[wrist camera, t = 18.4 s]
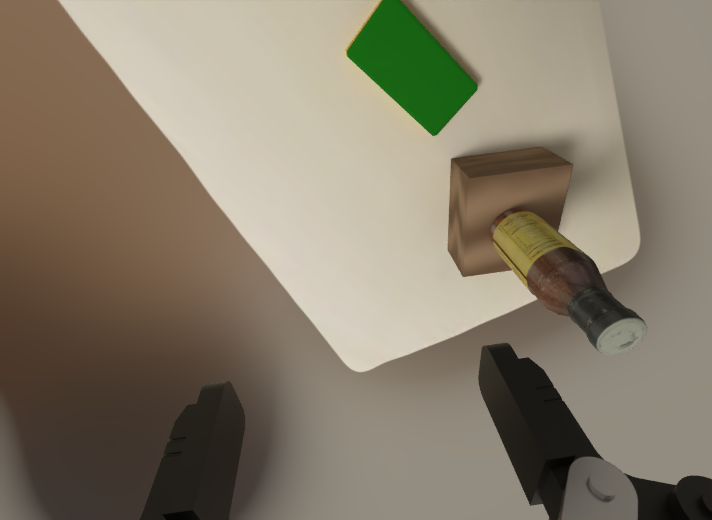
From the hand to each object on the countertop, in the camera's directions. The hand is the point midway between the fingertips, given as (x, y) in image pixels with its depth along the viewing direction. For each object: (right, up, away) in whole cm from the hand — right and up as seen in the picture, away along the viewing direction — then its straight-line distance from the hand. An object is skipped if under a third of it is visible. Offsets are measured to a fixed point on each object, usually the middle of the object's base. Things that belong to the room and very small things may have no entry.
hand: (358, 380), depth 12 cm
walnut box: (+19, +12, +40) cm, 46 cm away
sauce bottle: (+19, +8, +34) cm, 40 cm away
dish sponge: (+6, +26, +30) cm, 40 cm away
